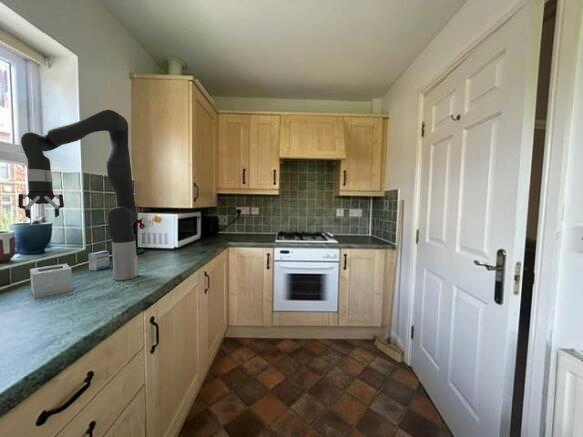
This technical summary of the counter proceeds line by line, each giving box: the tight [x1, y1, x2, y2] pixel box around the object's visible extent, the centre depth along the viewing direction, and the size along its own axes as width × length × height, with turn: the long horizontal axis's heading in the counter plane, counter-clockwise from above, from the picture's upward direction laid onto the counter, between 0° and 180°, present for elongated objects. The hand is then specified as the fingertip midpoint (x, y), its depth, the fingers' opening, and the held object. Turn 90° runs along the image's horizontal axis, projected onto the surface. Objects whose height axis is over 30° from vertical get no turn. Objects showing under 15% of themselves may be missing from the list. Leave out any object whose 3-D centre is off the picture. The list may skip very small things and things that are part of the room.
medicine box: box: [87, 250, 110, 271], centre depth 133 cm, size 8×4×9 cm, turn 168°
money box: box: [29, 263, 74, 299], centre depth 102 cm, size 11×11×9 cm
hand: (43, 217), depth 112 cm, fingers open, 8 cm apart
